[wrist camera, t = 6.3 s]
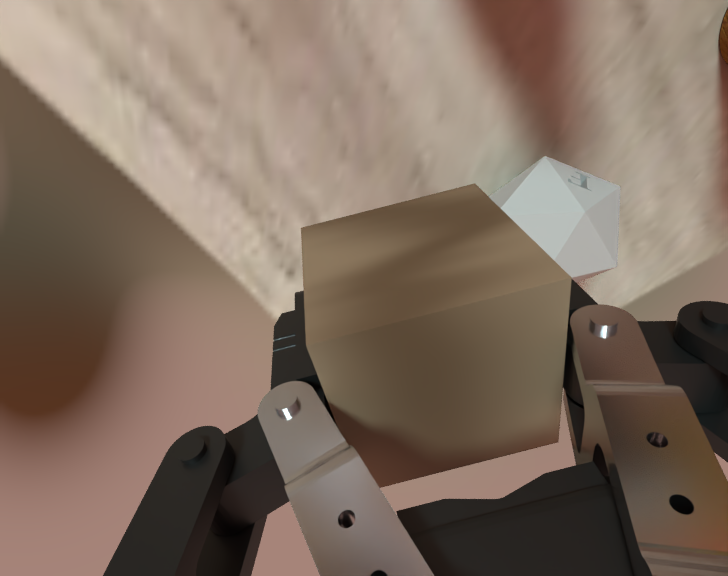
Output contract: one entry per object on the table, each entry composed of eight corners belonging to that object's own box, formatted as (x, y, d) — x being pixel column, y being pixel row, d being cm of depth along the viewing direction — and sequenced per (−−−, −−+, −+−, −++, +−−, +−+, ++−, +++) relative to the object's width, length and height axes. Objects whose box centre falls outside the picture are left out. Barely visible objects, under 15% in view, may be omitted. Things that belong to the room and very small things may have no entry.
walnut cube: (474, 183, 12) (571, 277, 8) (483, 319, 15) (558, 442, 11) (300, 227, 12) (306, 345, 8) (342, 356, 15) (362, 492, 11)
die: (589, 210, 34) (680, 169, 24) (550, 312, 33) (627, 311, 24) (492, 171, 34) (544, 114, 24) (452, 271, 33) (488, 254, 24)
